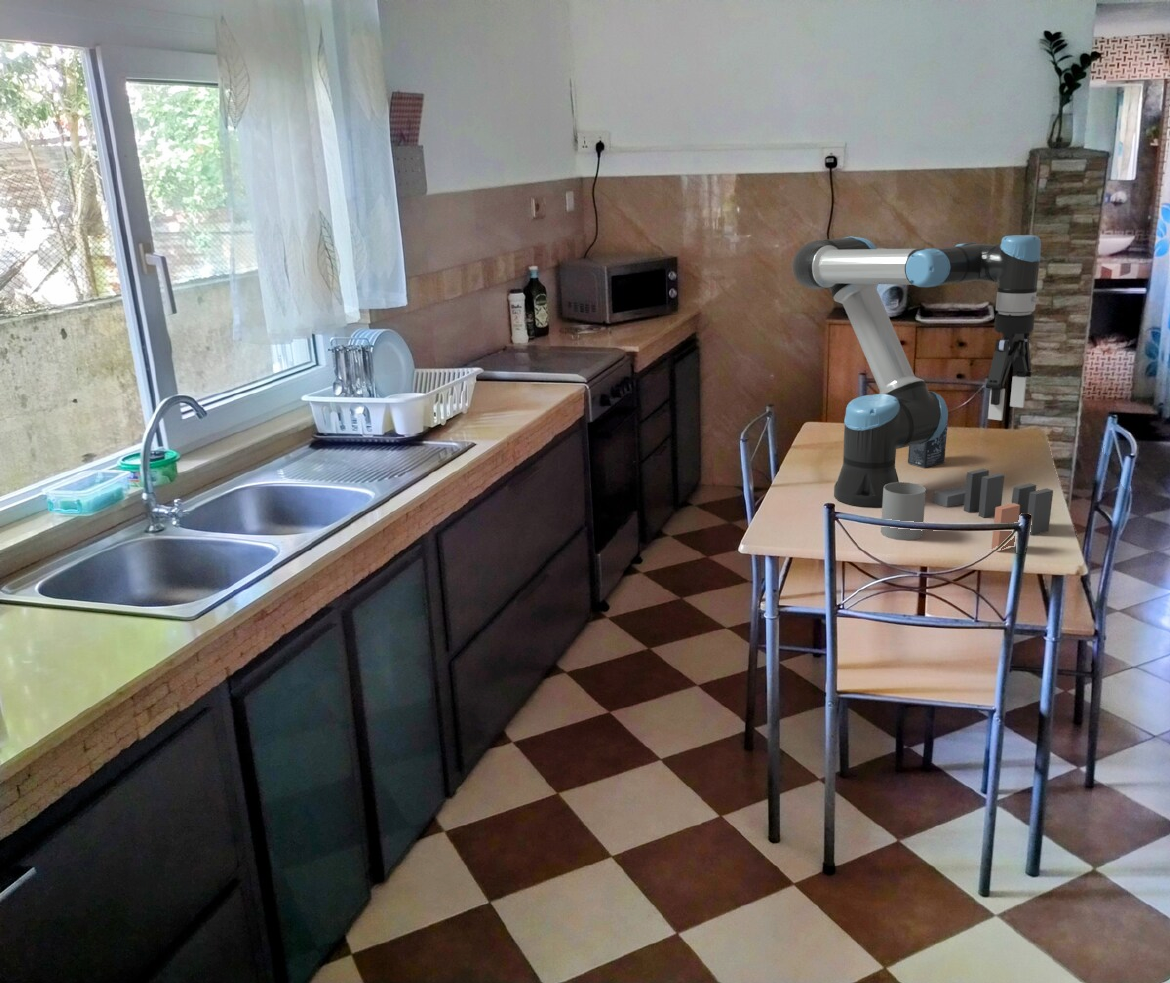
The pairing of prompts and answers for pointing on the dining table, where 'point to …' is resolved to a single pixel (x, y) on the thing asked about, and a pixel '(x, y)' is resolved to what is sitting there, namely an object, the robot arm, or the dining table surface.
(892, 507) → the cup
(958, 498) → the block
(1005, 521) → the domino
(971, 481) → the domino
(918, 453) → the box
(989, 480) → the domino
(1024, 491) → the domino
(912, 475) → the dining table surface
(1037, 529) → the domino
